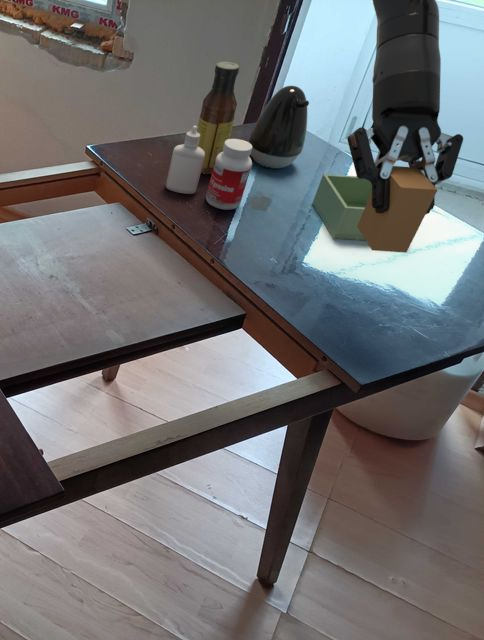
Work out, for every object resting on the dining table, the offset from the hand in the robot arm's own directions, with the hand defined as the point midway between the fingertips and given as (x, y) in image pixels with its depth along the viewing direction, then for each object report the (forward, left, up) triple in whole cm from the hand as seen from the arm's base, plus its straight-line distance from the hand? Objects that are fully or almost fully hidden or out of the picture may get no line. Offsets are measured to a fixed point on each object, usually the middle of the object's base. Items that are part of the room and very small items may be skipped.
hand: (402, 212), depth 86 cm
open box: (-11, -30, -18) cm, 36 cm away
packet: (0, -2, -5) cm, 6 cm away
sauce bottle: (+13, -47, -18) cm, 52 cm away
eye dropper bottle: (+19, -38, -18) cm, 46 cm away
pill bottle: (+12, -34, -18) cm, 40 cm away
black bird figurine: (-1, -52, -18) cm, 55 cm away
